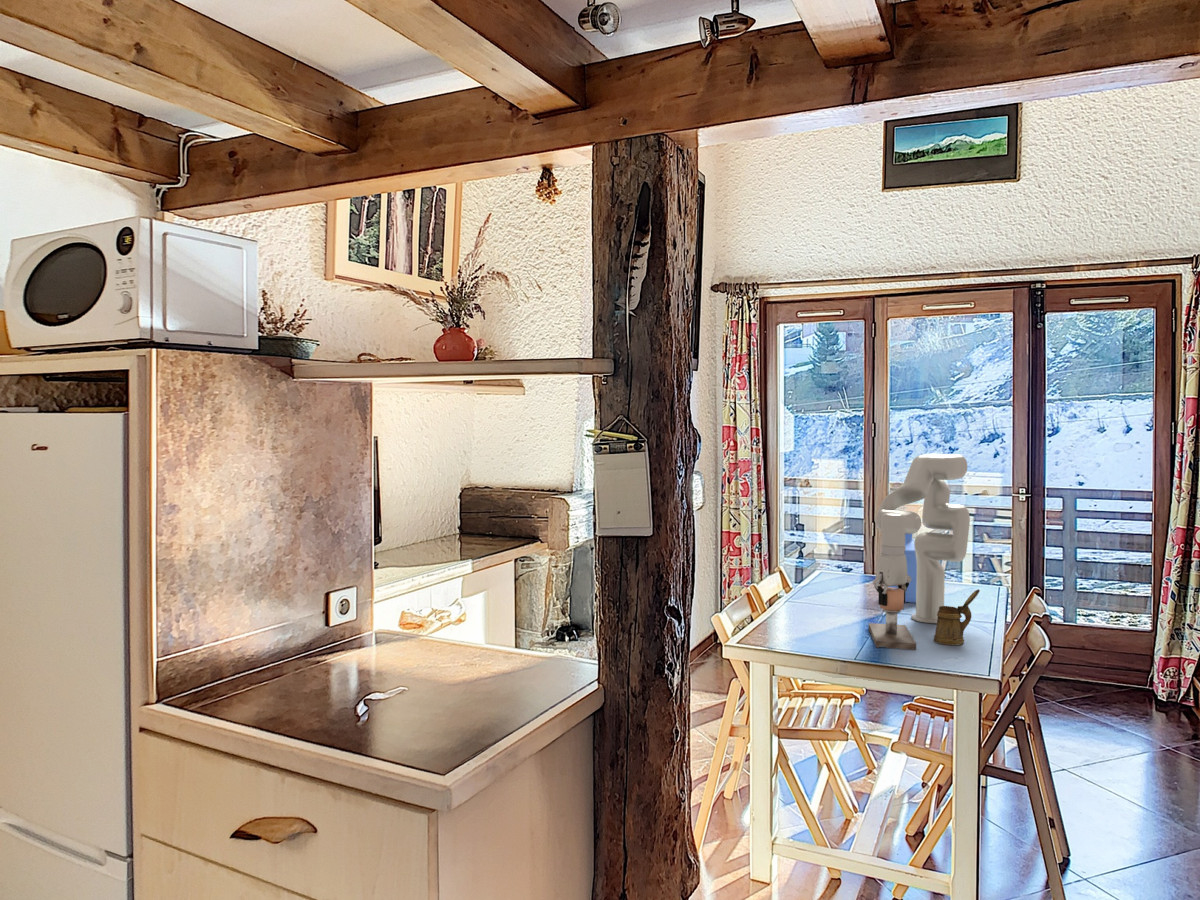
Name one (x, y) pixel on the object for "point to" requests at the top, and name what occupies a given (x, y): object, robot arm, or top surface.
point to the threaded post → (891, 621)
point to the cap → (894, 599)
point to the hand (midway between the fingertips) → (891, 603)
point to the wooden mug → (953, 622)
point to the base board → (892, 637)
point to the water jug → (910, 569)
